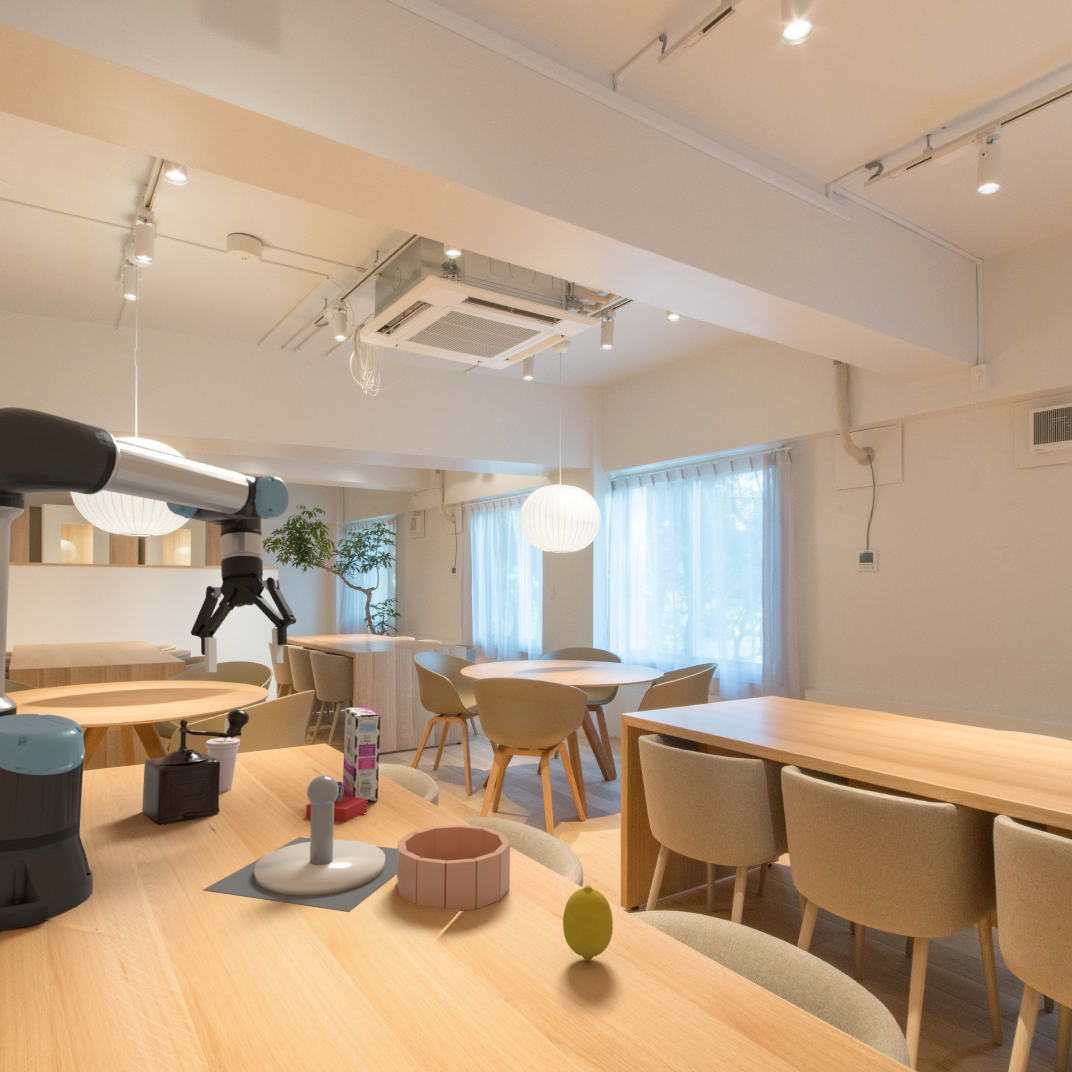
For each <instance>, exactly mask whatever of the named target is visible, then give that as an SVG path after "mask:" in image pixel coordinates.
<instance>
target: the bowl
mask: <svg viewBox="0 0 1072 1072" xmlns="http://www.w3.org/2000/svg"><path fill="white" fill-rule="evenodd" d="M397 849H398V852H397V874H396V887H397V893H398V896H400V897H402V898H403V899H405V900H407V901H409V902H410V903H413V904H414V905H418V906H423V907H424V906H425V907H429V908H430V907H431V908H436V909H437V908H439V909H454V908H460V910H459V911H460V912H461V911H471V910H478V909H480V908H483V907H486V906H488V905H492V904H494V903H496V902H499V901H501V900H502V899H503V898H504V896H505V895H506V894H507V892H508V891H509V890H510V886H511V885H510V884H511V883H510V882H511V880H510V876H511V842H510V841H509V838H507V836H506V834H505V833H502V832H500V831H497V830H495V829H491V828H489V827H486V826H477V825H476V826H475V825H469V824H467V825H466V824H454V825H453V824H451V825H437V826H430V827H427V828H422V829H419V830H418V829H417V830H416V831H411V832H409V833H408V834H407V835H405V836H404V837H402V838H401V839H399V840H398V841H397Z"/></svg>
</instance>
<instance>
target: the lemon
mask: <svg viewBox="0 0 1072 1072" xmlns="http://www.w3.org/2000/svg"><path fill="white" fill-rule="evenodd" d="M613 924H614V922H613V913H612V909H611V906H610V903H609V901H608V899H607V897H606V896H605V895H604V894H602V893H601V892H600V891H598V889H595V888H592V886H591V885H585V886H584V887H583V888H580V889H577V890H576V891H574V892H573V893H572V894H571V895H570V896H569V898H568V899H567V902H566V904H565V907H564V910H563V917H562V929H563V935H564V938H565V941H566V943H567V945H568V947H569V949H571V951H573V953H575V954H577V955H578V956H580V957H582V958H583V960H584V961H586V962H589V961H591V960H592V959H593V958H594V957H597V956H599V955H601V954H602V953H604V951H605V950H606V949H607V948H608V946H609V944H610V943H611V939H612V936H613V929H614V928H613Z"/></svg>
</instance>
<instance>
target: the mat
mask: <svg viewBox="0 0 1072 1072" xmlns="http://www.w3.org/2000/svg"><path fill="white" fill-rule="evenodd" d="M305 842H310V837H302V836H299V837H297V838H295V839H293V840H291V841H289V842H287V843H285V844H284V845H281V846H280V847H278V848H277V849H275V850H278V849H281V848H284V847H287V846H291V845H295V844H299V843H305ZM375 846H376V847H378V848H380V849H381V850H382V851H383V852H384V854H385V868H384V871H383V872H382V873H381V874H380V875H379V876H378V877H377V878H375V879H374V880H372V881H370V882H368V883H366V884H364V885H361V886H358V887H355V888H352V889H349V890H345V891H340V892H335V893H329V894H321V895H287V894H280V893H275V892H271V891H268V890H266V889H263V888H262V887H260V886H259V885H258V884H257V883H256V882H255V880H254V868H255V865H256V863H257V862H258V861H259V860H260V859H261V858H262V857H260V858H258V859H256V860H254V861H253V862H251V863H249V864H247V865H245V866H244V867H242V868H240V869H237V870H236V871H234V872H233V873H231V874H229V875H227V876H225V877H224V878H222V879H220V880H219V881H217V882H215V883H212V884H210V885H209V886H207V887H205V888H204V889H202V891H205V892H206V891H207V892H212V893H220V894H226V895H227V894H228V895H232V896H239V897H246V898H247V897H248V898H253V899H260V900H266V901H275V902H280V903H288V904H293V905H300V906H308V907H313V908H314V907H315V908H321V909H327V910H328V909H329V910H336V911H341V912H347V913H349V912H350V913H351V911H352V910H354V909H355V908H356V907H357V906H359V905H360V904H361V903H363V902H364V900H366V899H367V898H369V897H370V896H371V895H372V894H374V893H376V891H377V890H379V889H380V888H381V887H382V886H384V885H385V884H387V882H389V881H390V880H392V878H394V877H395V876H397V852H398V848H394V847H386V846H377V845H375Z"/></svg>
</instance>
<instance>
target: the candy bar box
mask: <svg viewBox="0 0 1072 1072" xmlns="http://www.w3.org/2000/svg"><path fill="white" fill-rule="evenodd" d="M344 710H345V711H344V712H345V714H344V715H345V716H344V718H345V719H344V739H343V741H344V743H343V768H342V770H343V771H342V772H343V774H342V784H343V792H344V791H345V792H344V793H345V794H346V795H347V797H355V798H364V799H367V801H368V802H367V803H370V802H369V801H374V802H378V801H379V800H378V799H379V793H378V792H379V769H380V768H379V766H380V760H379V759H380V736H381V734H380V732H381V714H379V713H378V712H376V711H375V710H373V709H371V708H370V707H368V706H357V707H347V708H346V707H345V709H344Z"/></svg>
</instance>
